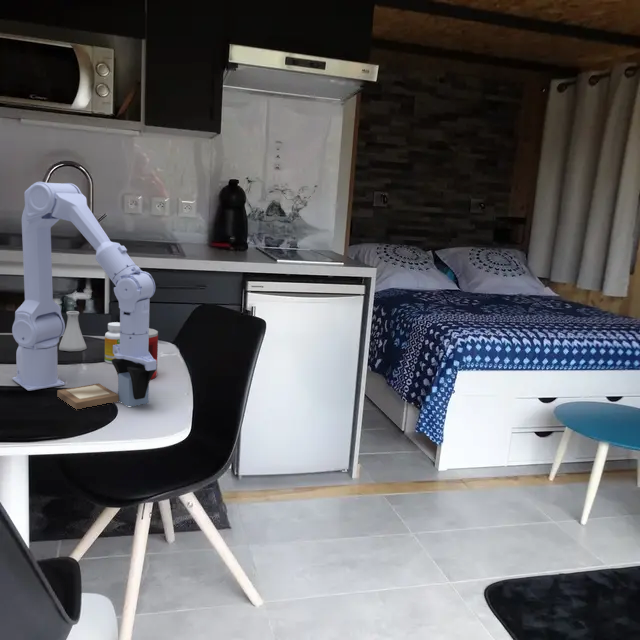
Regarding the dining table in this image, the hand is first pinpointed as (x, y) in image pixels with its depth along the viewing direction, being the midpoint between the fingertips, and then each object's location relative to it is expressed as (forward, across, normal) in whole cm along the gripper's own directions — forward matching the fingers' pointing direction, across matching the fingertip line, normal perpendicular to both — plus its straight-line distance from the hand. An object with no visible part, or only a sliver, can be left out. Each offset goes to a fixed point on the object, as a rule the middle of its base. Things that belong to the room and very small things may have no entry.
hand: (133, 394), depth 132 cm
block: (+2, 0, 0) cm, 2 cm away
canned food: (+2, -15, +10) cm, 18 cm away
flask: (+2, -45, +7) cm, 46 cm away
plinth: (+2, -6, -7) cm, 9 cm away
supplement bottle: (+2, -29, +11) cm, 31 cm away
